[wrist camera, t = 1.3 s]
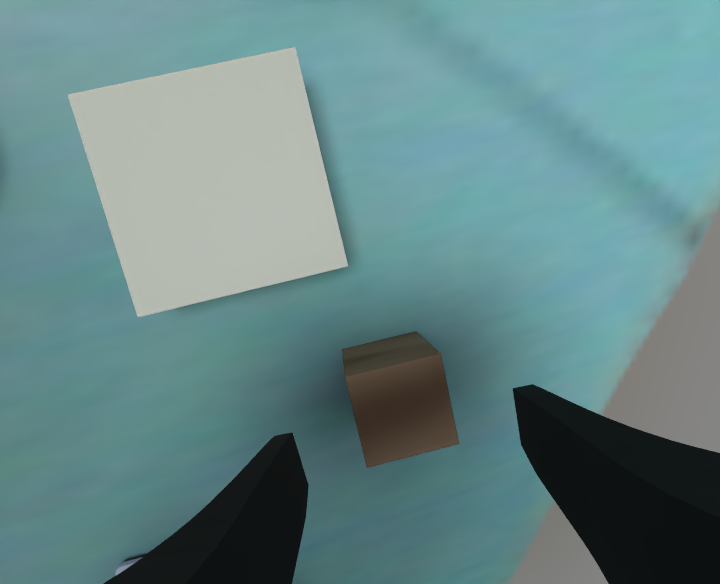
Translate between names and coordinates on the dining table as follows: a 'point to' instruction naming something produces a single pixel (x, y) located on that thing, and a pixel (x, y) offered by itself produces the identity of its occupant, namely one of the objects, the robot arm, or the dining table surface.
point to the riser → (211, 180)
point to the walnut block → (399, 398)
